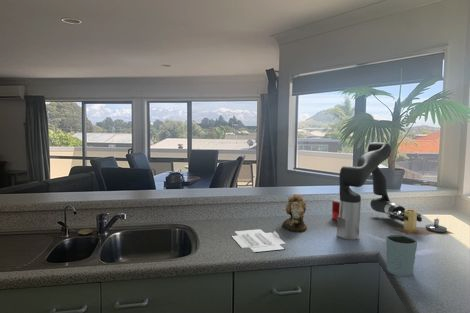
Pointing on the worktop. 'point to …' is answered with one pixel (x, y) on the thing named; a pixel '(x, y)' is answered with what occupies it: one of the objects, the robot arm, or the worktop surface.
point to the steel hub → (436, 227)
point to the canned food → (335, 209)
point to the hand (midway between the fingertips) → (412, 219)
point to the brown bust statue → (295, 214)
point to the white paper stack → (258, 240)
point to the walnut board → (420, 231)
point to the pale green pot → (400, 254)
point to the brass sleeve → (410, 220)
